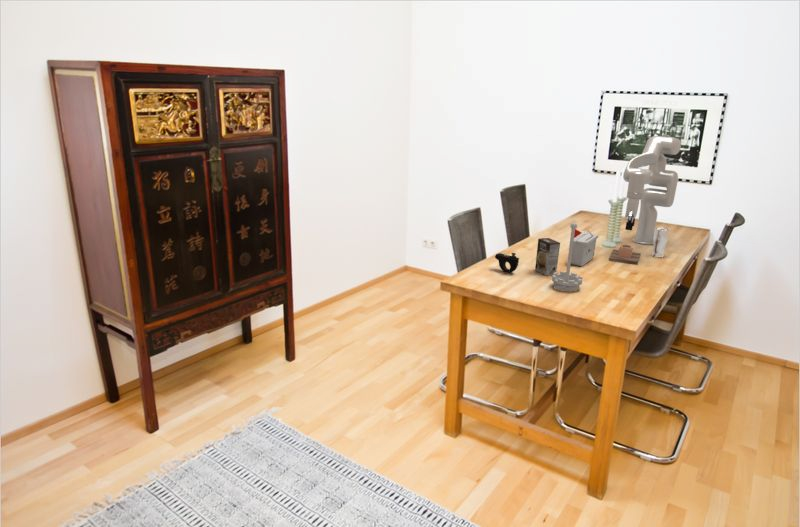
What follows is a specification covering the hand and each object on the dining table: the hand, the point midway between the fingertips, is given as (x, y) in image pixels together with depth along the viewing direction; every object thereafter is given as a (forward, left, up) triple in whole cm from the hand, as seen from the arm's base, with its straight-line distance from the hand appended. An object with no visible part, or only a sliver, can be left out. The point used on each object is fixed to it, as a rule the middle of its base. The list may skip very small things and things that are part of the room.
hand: (629, 227), depth 288 cm
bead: (0, 0, -15) cm, 15 cm away
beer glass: (-14, +15, -17) cm, 26 cm away
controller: (+55, -48, -17) cm, 75 cm away
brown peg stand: (0, 0, -17) cm, 17 cm away
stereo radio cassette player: (+18, -19, -17) cm, 31 cm away
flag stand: (+62, -18, -17) cm, 67 cm away
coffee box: (+46, -31, -17) cm, 58 cm away
